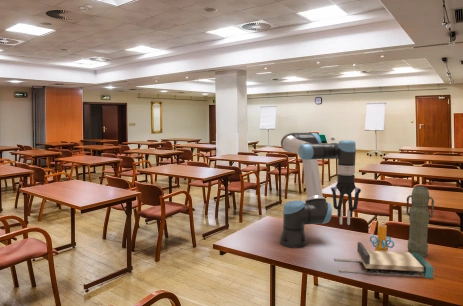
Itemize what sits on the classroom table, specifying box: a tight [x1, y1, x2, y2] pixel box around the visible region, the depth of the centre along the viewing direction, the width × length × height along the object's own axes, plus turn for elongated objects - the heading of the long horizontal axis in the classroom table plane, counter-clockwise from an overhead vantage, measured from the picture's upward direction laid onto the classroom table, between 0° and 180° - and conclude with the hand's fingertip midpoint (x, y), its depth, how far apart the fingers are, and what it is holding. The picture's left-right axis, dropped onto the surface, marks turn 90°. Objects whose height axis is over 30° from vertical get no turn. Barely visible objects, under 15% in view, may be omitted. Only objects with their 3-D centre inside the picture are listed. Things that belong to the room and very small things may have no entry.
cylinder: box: [369, 224, 395, 252], centre depth 170 cm, size 12×10×15 cm
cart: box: [356, 241, 424, 274], centre depth 154 cm, size 24×16×8 cm, turn 82°
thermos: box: [405, 185, 435, 259], centre depth 168 cm, size 9×12×35 cm
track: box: [334, 253, 435, 279], centre depth 154 cm, size 39×16×5 cm, turn 82°
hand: (344, 223), depth 155 cm, fingers open, 3 cm apart
